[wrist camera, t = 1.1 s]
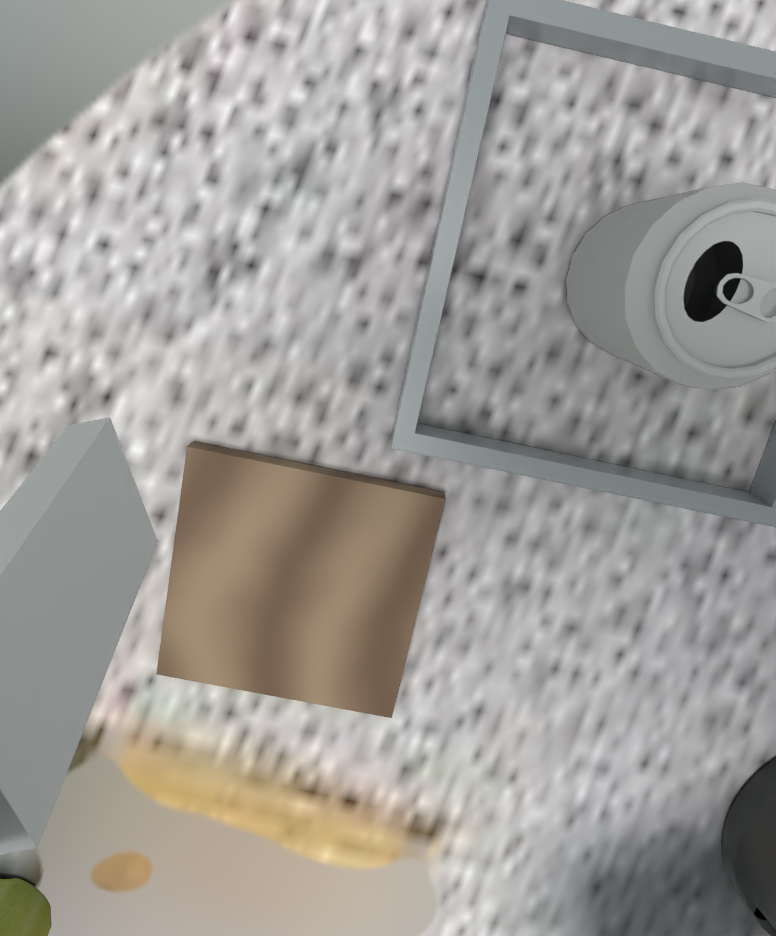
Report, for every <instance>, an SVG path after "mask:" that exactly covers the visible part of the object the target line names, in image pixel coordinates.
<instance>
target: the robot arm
mask: <svg viewBox="0 0 776 936" xmlns="http://www.w3.org/2000/svg"><path fill="white" fill-rule="evenodd" d="M157 542H158V540H157V538H156V535H155V533H154V530H153V527H152V525H151V522H150V520H149V517H148V515H147V512H146V509H145V507H144V504H143V502H142V499H141V496H140V494H139V491H138V489H137V486H136V484H135V481H134V478H133V476H132V473H131V471H130V468H129V465H128V463H127V460H126V458H125V455H124V452H123V450H122V447H121V445H120V442H119V440H118V437H117V434H116V432H115V429H114V427H113V424H112V421H111V419H110V418H104V419H99V420H94V421H88V422H83V423H78V424H72V425H69V426H68V427H67V428H66V430H65V431H64V432H63V433H62V435H61V436H60V437H59V438H58V440H57V441H56V442H55V443H54V445H53V446H52V447H51V448H50V450H49V451H48V452H47V453H46V455H45V456H44V457H43V458H42V460H41V461H40V462H39V463H38V465H37V466H36V467H35V468H34V470H33V471H32V472H31V473H30V475H29V476H28V477H27V478H26V480H25V481H24V482H23V483H22V485H21V486H20V487H19V488H18V490H17V491H16V492H15V493H14V495H13V496H12V497H11V498H10V499H9V501H8V502H7V503H6V504H5V506H4V507H3V508H2V509H1V511H0V854H6V853H11V852H17V851H23V850H28V849H34V848H37V847H38V845H39V842H40V839H41V837H42V835H43V832H44V829H45V827H46V825H47V822H48V819H49V817H50V814H51V812H52V809H53V807H54V804H55V802H56V799H57V797H58V794H59V791H60V789H61V786H62V784H63V781H64V779H65V776H66V774H67V771H68V769H69V766H70V764H71V761H72V758H73V756H74V753H75V751H76V748H77V746H78V743H79V741H80V738H81V736H82V733H83V730H84V728H85V725H86V723H87V720H88V718H89V715H90V713H91V710H92V708H93V705H94V703H95V700H96V697H97V695H98V692H99V690H100V687H101V685H102V682H103V680H104V677H105V675H106V672H107V669H108V667H109V664H110V662H111V659H112V657H113V654H114V652H115V649H116V647H117V644H118V641H119V639H120V636H121V634H122V631H123V629H124V626H125V624H126V621H127V619H128V616H129V614H130V611H131V608H132V606H133V603H134V601H135V598H136V596H137V593H138V591H139V588H140V586H141V583H142V580H143V578H144V575H145V573H146V570H147V568H148V565H149V563H150V560H151V558H152V555H153V552H154V550H155V547H156V545H157ZM722 853H723V860H724V864H725V867H726V870H727V873H728V875H729V877H730V879H731V881H732V883H733V885H734V886H735V888H736V890H737V892H738V894H739V896H740V898H741V899H742V901H743V903H744V905H745V906H746V908H747V909H748V911H749V912H750V914H751V915H752V916H753V918H754V919H755V920H756V921H757V922H758V923H759V924H760V925H761V927H763V928H764V929H765V930H766V931H767V932H768V933H769V934H770V935H771V936H776V759H774V760H773V761H772V762H770V763H769V764H768V765H766V766H765V767H764V768H763V769H761V770H760V771H759V772H758V773H757V774H756V775H755V776H754V777H753V778H752V779H751V780H750V781H749V782H748V783H747V784H746V785H745V787H744V788H743V789H742V791H741V792H740V793H739V795H738V796H737V798H736V800H735V801H734V803H733V805H732V807H731V809H730V811H729V813H728V816H727V819H726V822H725V826H724V830H723V837H722Z"/></svg>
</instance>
